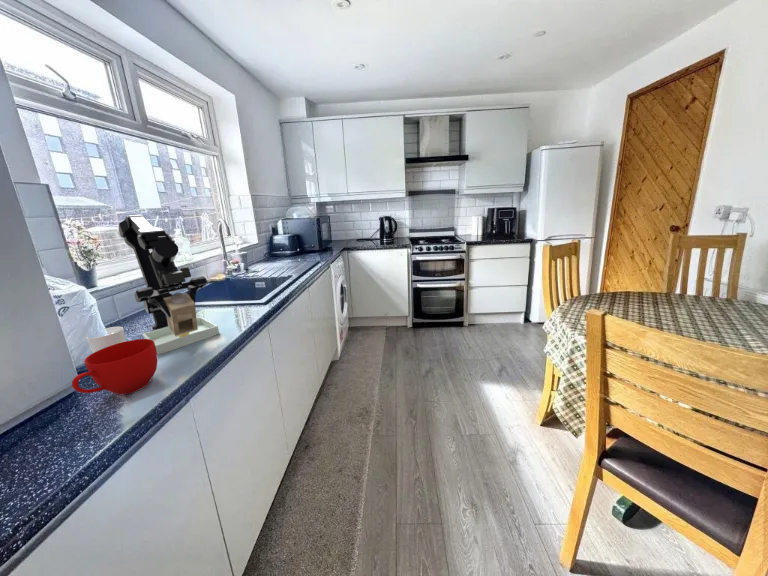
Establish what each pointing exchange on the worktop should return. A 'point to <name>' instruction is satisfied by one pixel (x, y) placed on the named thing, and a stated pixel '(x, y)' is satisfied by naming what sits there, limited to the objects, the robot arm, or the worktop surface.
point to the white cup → (107, 339)
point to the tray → (169, 342)
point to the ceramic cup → (121, 367)
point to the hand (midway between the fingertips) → (182, 313)
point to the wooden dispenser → (181, 314)
